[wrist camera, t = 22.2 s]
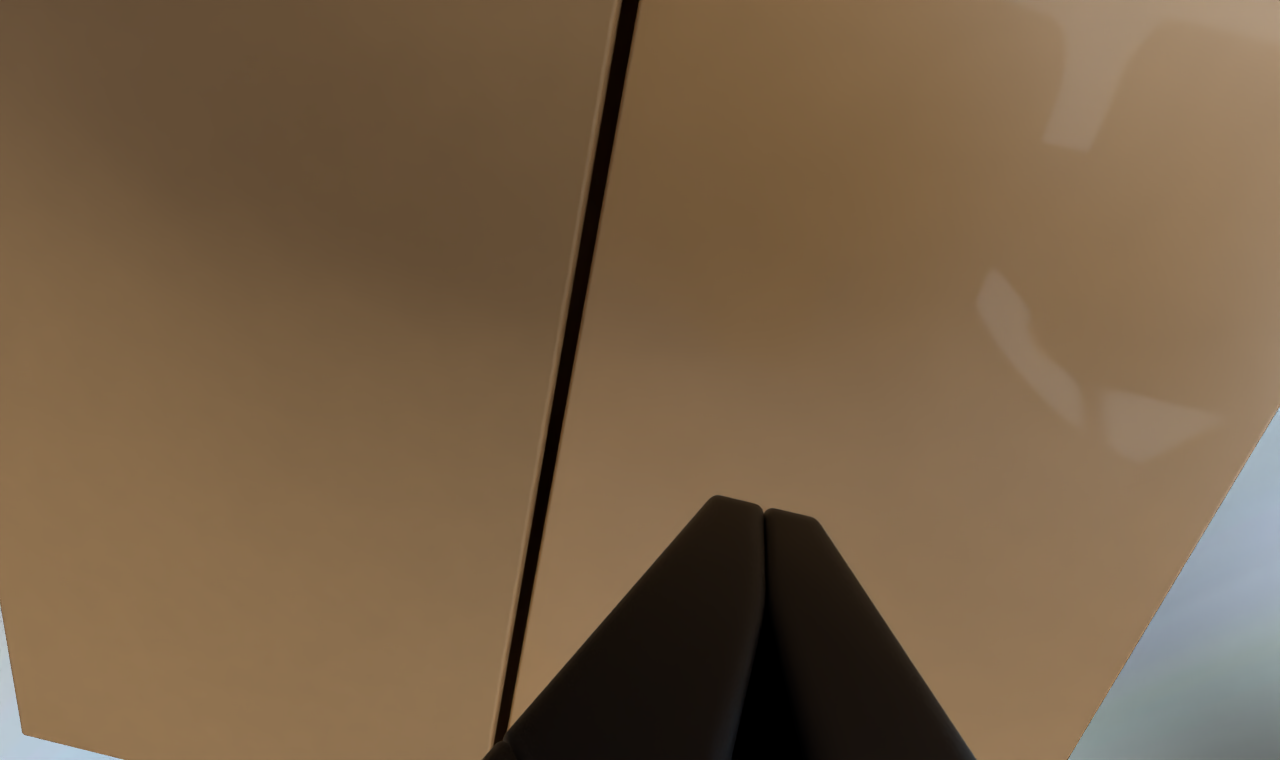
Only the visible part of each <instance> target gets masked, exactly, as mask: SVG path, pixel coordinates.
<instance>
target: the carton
mask: <svg viewBox="0 0 1280 760" xmlns="http://www.w3.org/2000/svg"><path fill="white" fill-rule="evenodd" d="M638 3H639V0H0V605H1V611H2V617H3V622H4V628H5V634H6V640H7V646H8V652H9V658H10V663H11V669H12V675H13V681H14V687H15V693H16V699H17V704H18V710H19V716H20V722H21V728H22V733H23V734H24V735H27V736H31V737H35V738H39V739H43V740H47V741H51V742H55V743H59V744H63V745H67V746H71V747H75V748H80V749H84V750H88V751H92V752H96V753H100V754H104V755H108V756H112V757H116V758H120V759H124V760H482V759H483V758H484V757H485V755H486V754H487V753H488V752H489V751H490V750H491V749H492V747H493V746H494V745H495V744H496V743H497V742H499V741H503V737H504V735H505V733H506V732H507V728H508V722H509V716H510V711H511V705H512V700H513V694H514V689H515V683H516V678H517V672H518V667H519V661H520V656H521V650H522V645H523V639H524V634H525V628H526V622H527V617H528V611H529V606H530V600H531V595H532V589H533V584H534V578H535V573H536V567H537V562H538V556H539V551H540V545H541V540H542V534H543V529H544V523H545V517H546V512H547V506H548V501H549V495H550V490H551V484H552V479H553V473H554V468H555V462H556V457H557V451H558V446H559V440H560V435H561V429H562V423H563V418H564V412H565V407H566V401H567V396H568V390H569V385H570V379H571V374H572V368H573V363H574V357H575V352H576V346H577V341H578V335H579V330H580V324H581V318H582V313H583V307H584V302H585V296H586V291H587V285H588V280H589V274H590V269H591V263H592V258H593V252H594V247H595V241H596V236H597V230H598V224H599V219H600V213H601V208H602V202H603V197H604V191H605V186H606V180H607V175H608V169H609V164H610V158H611V153H612V147H613V142H614V136H615V131H616V125H617V119H618V114H619V108H620V103H621V97H622V92H623V86H624V81H625V75H626V70H627V64H628V59H629V53H630V48H631V42H632V37H633V31H634V25H635V20H636V14H637V9H638Z"/></svg>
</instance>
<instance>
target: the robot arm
mask: <svg viewBox="0 0 1280 760" xmlns="http://www.w3.org/2000/svg"><path fill="white" fill-rule="evenodd" d="M482 760H977V759H976V758H975V756H974V755H973V753H972V752H971V750H970V749H969V747H968V746H967V744H966V743H965V741H964V740H963V738H962V737H961V735H960V734H959V732H958V731H957V729H956V727H955V726H954V724H953V723H952V721H951V720H950V718H949V717H948V715H947V714H946V712H945V711H944V709H943V708H942V706H941V705H940V703H939V702H938V700H937V699H936V697H935V696H934V694H933V693H932V691H931V690H930V688H929V687H928V685H927V684H926V682H925V681H924V679H923V678H922V676H921V675H920V673H919V672H918V670H917V669H916V667H915V666H914V664H913V663H912V661H911V660H910V658H909V657H908V655H907V653H906V652H905V650H904V649H903V647H902V646H901V644H900V643H899V641H898V640H897V638H896V637H895V635H894V634H893V632H892V631H891V629H890V628H889V626H888V625H887V623H886V622H885V620H884V619H883V617H882V616H881V614H880V613H879V611H878V610H877V608H876V607H875V605H874V604H873V602H872V601H871V599H870V598H869V596H868V595H867V593H866V592H865V590H864V589H863V587H862V586H861V584H860V582H859V581H858V579H857V578H856V576H855V575H854V573H853V572H852V570H851V569H850V567H849V566H848V564H847V563H846V561H845V560H844V558H843V557H842V555H841V554H840V552H839V551H838V549H837V548H836V546H835V545H834V543H833V542H832V540H831V539H830V537H829V536H828V534H827V533H826V531H825V530H824V528H823V527H822V525H821V524H820V523H819V521H817V520H816V519H815V518H813V517H811V516H806V515H802V514H798V513H793V512H789V511H785V510H781V509H776V508H770V509H767V510H766V511H765V512H763V509H762V508H761V507H760V506H759V505H757V504H755V503H751V502H747V501H743V500H739V499H734V498H730V497H726V496H722V495H715V496H712V497H711V498H710V499H709V500H708V501H707V502H706V503H705V504H704V505H703V506H702V508H701V509H700V510H699V511H698V512H697V513H696V514H695V516H694V517H693V518H692V519H691V520H690V521H689V523H688V524H687V525H686V526H685V527H684V528H683V529H682V531H681V532H680V533H679V534H678V535H677V536H676V538H675V539H674V540H673V541H672V542H671V543H670V544H669V546H668V547H667V548H666V549H665V550H664V551H663V552H662V554H661V555H660V556H659V557H658V558H657V559H656V561H655V562H654V563H653V564H652V565H651V566H650V567H649V569H648V570H647V571H646V572H645V573H644V574H643V576H642V577H641V578H640V579H639V580H638V581H637V582H636V584H635V585H634V586H633V587H632V588H631V589H630V591H629V592H628V593H627V594H626V595H625V596H624V597H623V599H622V600H621V601H620V602H619V603H618V604H617V605H616V607H615V608H614V609H613V610H612V611H611V612H610V614H609V615H608V616H607V617H606V618H605V619H604V620H603V622H602V623H601V624H600V625H599V626H598V627H597V629H596V630H595V631H594V632H593V633H592V634H591V635H590V637H589V638H588V639H587V640H586V641H585V642H584V643H583V645H582V646H581V647H580V648H579V649H578V650H577V652H576V653H575V654H574V655H573V656H572V657H571V658H570V660H569V661H568V662H567V663H566V664H565V665H564V667H563V668H562V669H561V670H560V671H559V672H558V673H557V675H556V676H555V677H554V678H553V679H552V680H551V681H550V683H549V684H548V685H547V686H546V687H545V688H544V690H543V691H542V692H541V693H540V694H539V695H538V696H537V698H536V699H535V700H534V701H533V702H532V703H531V705H530V706H529V707H528V708H527V709H526V710H525V711H524V713H523V714H522V715H521V716H520V717H519V718H518V719H517V721H516V722H515V723H514V724H513V725H512V726H511V728H510V729H509V730H508V731H507V732H506V733H505V735H504V737H503V741H499V742H497V743H496V744H495V745H494V746H493V747H492V749H491V750H490V751H489V752H488V753H487V754H486V755H485V757H484V758H483V759H482Z"/></svg>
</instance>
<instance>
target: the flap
mask: <svg viewBox="0 0 1280 760" xmlns="http://www.w3.org/2000/svg"><path fill="white" fill-rule="evenodd" d="M1279 407H1280V0H639V3H638V9H637V14H636V20H635V25H634V31H633V37H632V42H631V48H630V53H629V59H628V64H627V70H626V75H625V81H624V86H623V92H622V97H621V103H620V108H619V114H618V119H617V125H616V131H615V136H614V142H613V147H612V153H611V158H610V164H609V169H608V175H607V180H606V186H605V191H604V197H603V202H602V208H601V213H600V219H599V224H598V230H597V236H596V241H595V247H594V252H593V258H592V263H591V269H590V274H589V280H588V285H587V291H586V296H585V302H584V307H583V313H582V318H581V324H580V330H579V335H578V341H577V346H576V352H575V357H574V363H573V368H572V374H571V379H570V385H569V390H568V396H567V401H566V407H565V412H564V418H563V423H562V429H561V435H560V440H559V446H558V451H557V457H556V462H555V468H554V473H553V479H552V484H551V490H550V495H549V501H548V506H547V512H546V517H545V523H544V529H543V534H542V540H541V545H540V551H539V556H538V562H537V567H536V573H535V578H534V584H533V589H532V595H531V600H530V606H529V611H528V617H527V622H526V628H525V634H524V639H523V645H522V650H521V656H520V661H519V667H518V672H517V678H516V683H515V689H514V694H513V700H512V705H511V711H510V716H509V722H508V728H507V731H508V730H509V729H510V728H511V726H512V725H513V724H514V723H515V722H516V721H517V719H518V718H519V717H520V716H521V715H522V714H523V713H524V711H525V710H526V709H527V708H528V707H529V706H530V705H531V703H532V702H533V701H534V700H535V699H536V698H537V696H538V695H539V694H540V693H541V692H542V691H543V690H544V688H545V687H546V686H547V685H548V684H549V683H550V681H551V680H552V679H553V678H554V677H555V676H556V675H557V673H558V672H559V671H560V670H561V669H562V668H563V667H564V665H565V664H566V663H567V662H568V661H569V660H570V658H571V657H572V656H573V655H574V654H575V653H576V652H577V650H578V649H579V648H580V647H581V646H582V645H583V643H584V642H585V641H586V640H587V639H588V638H589V637H590V635H591V634H592V633H593V632H594V631H595V630H596V629H597V627H598V626H599V625H600V624H601V623H602V622H603V620H604V619H605V618H606V617H607V616H608V615H609V614H610V612H611V611H612V610H613V609H614V608H615V607H616V605H617V604H618V603H619V602H620V601H621V600H622V599H623V597H624V596H625V595H626V594H627V593H628V592H629V591H630V589H631V588H632V587H633V586H634V585H635V584H636V582H637V581H638V580H639V579H640V578H641V577H642V576H643V574H644V573H645V572H646V571H647V570H648V569H649V567H650V566H651V565H652V564H653V563H654V562H655V561H656V559H657V558H658V557H659V556H660V555H661V554H662V552H663V551H664V550H665V549H666V548H667V547H668V546H669V544H670V543H671V542H672V541H673V540H674V539H675V538H676V536H677V535H678V534H679V533H680V532H681V531H682V529H683V528H684V527H685V526H686V525H687V524H688V523H689V521H690V520H691V519H692V518H693V517H694V516H695V514H696V513H697V512H698V511H699V510H700V509H701V508H702V506H703V505H704V504H705V503H706V502H707V501H708V500H709V499H710V498H711V497H712V496H715V495H722V496H726V497H730V498H734V499H739V500H743V501H747V502H751V503H755V504H757V505H759V506H760V507H761V508H762V509H763V512H765V511H766V510H767V509H770V508H776V509H781V510H785V511H789V512H793V513H798V514H802V515H806V516H811V517H813V518H815V519H816V520H817V521H819V523H820V524H821V525H822V527H823V528H824V530H825V531H826V533H827V534H828V536H829V537H830V539H831V540H832V542H833V543H834V545H835V546H836V548H837V549H838V551H839V552H840V554H841V555H842V557H843V558H844V560H845V561H846V563H847V564H848V566H849V567H850V569H851V570H852V572H853V573H854V575H855V576H856V578H857V579H858V581H859V582H860V584H861V586H862V587H863V589H864V590H865V592H866V593H867V595H868V596H869V598H870V599H871V601H872V602H873V604H874V605H875V607H876V608H877V610H878V611H879V613H880V614H881V616H882V617H883V619H884V620H885V622H886V623H887V625H888V626H889V628H890V629H891V631H892V632H893V634H894V635H895V637H896V638H897V640H898V641H899V643H900V644H901V646H902V647H903V649H904V650H905V652H906V653H907V655H908V657H909V658H910V660H911V661H912V663H913V664H914V666H915V667H916V669H917V670H918V672H919V673H920V675H921V676H922V678H923V679H924V681H925V682H926V684H927V685H928V687H929V688H930V690H931V691H932V693H933V694H934V696H935V697H936V699H937V700H938V702H939V703H940V705H941V706H942V708H943V709H944V711H945V712H946V714H947V715H948V717H949V718H950V720H951V721H952V723H953V724H954V726H955V727H956V729H957V731H958V732H959V734H960V735H961V737H962V738H963V740H964V741H965V743H966V744H967V746H968V747H969V749H970V750H971V752H972V753H973V755H974V756H975V758H976V759H977V760H1068V758H1069V757H1070V755H1071V753H1072V752H1073V750H1074V748H1075V747H1076V745H1077V743H1078V742H1079V740H1080V738H1081V737H1082V735H1083V733H1084V732H1085V730H1086V728H1087V727H1088V725H1089V723H1090V722H1091V720H1092V718H1093V717H1094V715H1095V713H1096V712H1097V710H1098V708H1099V707H1100V705H1101V703H1102V702H1103V700H1104V698H1105V697H1106V695H1107V693H1108V692H1109V690H1110V688H1111V687H1112V685H1113V683H1114V682H1115V680H1116V678H1117V677H1118V675H1119V673H1120V672H1121V670H1122V668H1123V667H1124V665H1125V663H1126V662H1127V660H1128V658H1129V657H1130V655H1131V653H1132V652H1133V650H1134V648H1135V647H1136V645H1137V643H1138V642H1139V640H1140V638H1141V637H1142V635H1143V633H1144V632H1145V630H1146V628H1147V627H1148V625H1149V623H1150V622H1151V620H1152V618H1153V617H1154V615H1155V613H1156V612H1157V610H1158V608H1159V607H1160V605H1161V603H1162V602H1163V600H1164V598H1165V597H1166V595H1167V593H1168V592H1169V590H1170V588H1171V587H1172V585H1173V583H1174V582H1175V580H1176V578H1177V577H1178V575H1179V573H1180V572H1181V570H1182V568H1183V567H1184V565H1185V563H1186V562H1187V560H1188V558H1189V557H1190V555H1191V553H1192V552H1193V550H1194V548H1195V547H1196V545H1197V543H1198V542H1199V540H1200V538H1201V537H1202V535H1203V533H1204V532H1205V530H1206V528H1207V527H1208V525H1209V523H1210V522H1211V520H1212V518H1213V517H1214V515H1215V513H1216V512H1217V510H1218V508H1219V507H1220V505H1221V503H1222V502H1223V500H1224V498H1225V497H1226V495H1227V493H1228V492H1229V490H1230V488H1231V487H1232V485H1233V483H1234V482H1235V480H1236V478H1237V477H1238V475H1239V473H1240V472H1241V470H1242V468H1243V467H1244V465H1245V463H1246V462H1247V460H1248V458H1249V457H1250V455H1251V453H1252V452H1253V450H1254V448H1255V447H1256V445H1257V443H1258V442H1259V440H1260V438H1261V437H1262V435H1263V433H1264V432H1265V430H1266V428H1267V427H1268V425H1269V423H1270V422H1271V420H1272V418H1273V417H1274V415H1275V413H1276V412H1277V410H1278V408H1279Z"/></svg>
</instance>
